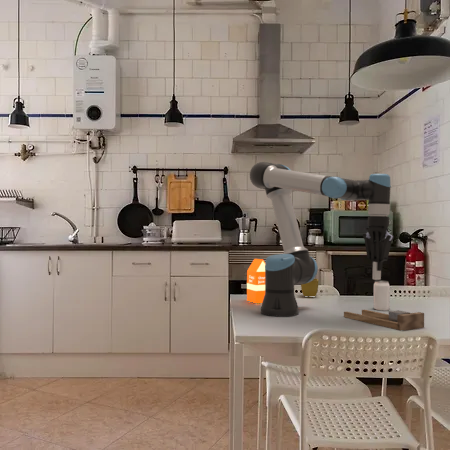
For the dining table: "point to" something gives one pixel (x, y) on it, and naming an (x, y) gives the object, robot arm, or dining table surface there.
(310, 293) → the flower pot
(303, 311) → the dining table surface
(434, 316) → the dining table surface
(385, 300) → the can
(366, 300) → the dining table surface
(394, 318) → the block
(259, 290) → the orange juice
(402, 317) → the oak track
